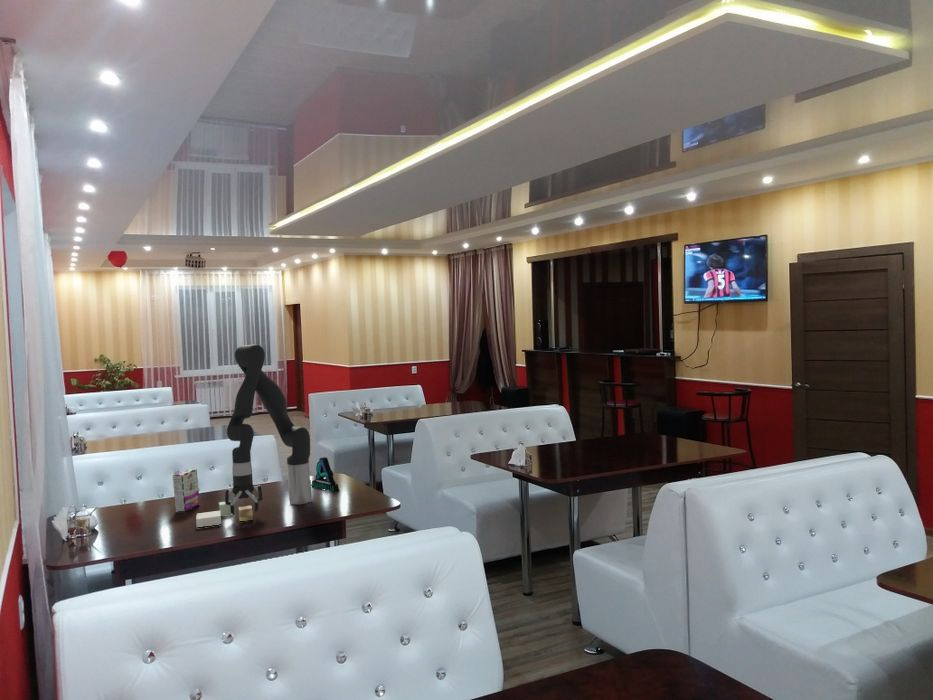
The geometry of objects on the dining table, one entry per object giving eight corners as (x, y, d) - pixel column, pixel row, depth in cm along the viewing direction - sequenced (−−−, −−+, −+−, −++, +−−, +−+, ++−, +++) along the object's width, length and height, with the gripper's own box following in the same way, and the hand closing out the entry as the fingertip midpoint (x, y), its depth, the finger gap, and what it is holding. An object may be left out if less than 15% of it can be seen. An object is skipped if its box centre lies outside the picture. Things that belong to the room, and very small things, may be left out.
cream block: (221, 520, 287) (220, 510, 287) (221, 526, 279) (220, 516, 279) (197, 523, 284) (196, 513, 284) (196, 529, 276) (196, 519, 276)
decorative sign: (339, 491, 325) (337, 459, 324) (335, 492, 323) (332, 460, 322) (315, 486, 338) (313, 455, 337) (311, 487, 336) (309, 456, 335)
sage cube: (232, 512, 298) (231, 500, 297) (232, 515, 293) (232, 503, 293) (219, 514, 296) (218, 502, 296) (220, 517, 291) (219, 505, 291)
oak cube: (252, 517, 288) (251, 505, 288) (253, 520, 283) (252, 508, 283) (239, 519, 286) (238, 507, 286) (240, 522, 282) (239, 510, 281)
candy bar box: (190, 505, 313) (187, 468, 312) (200, 505, 312) (197, 468, 311) (174, 512, 302) (172, 474, 301) (185, 512, 301) (182, 474, 300)
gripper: (259, 469, 290) (262, 508, 291) (223, 473, 285) (225, 513, 285) (261, 472, 283) (263, 512, 284) (224, 476, 278) (226, 517, 278)
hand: (244, 512), depth 285 cm, fingers open, 8 cm apart
